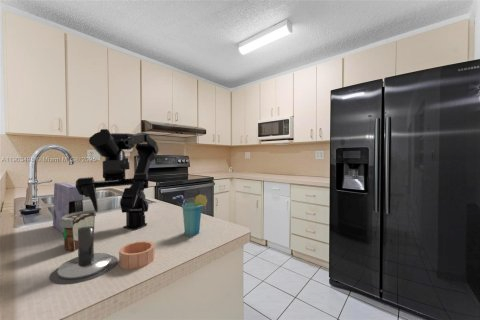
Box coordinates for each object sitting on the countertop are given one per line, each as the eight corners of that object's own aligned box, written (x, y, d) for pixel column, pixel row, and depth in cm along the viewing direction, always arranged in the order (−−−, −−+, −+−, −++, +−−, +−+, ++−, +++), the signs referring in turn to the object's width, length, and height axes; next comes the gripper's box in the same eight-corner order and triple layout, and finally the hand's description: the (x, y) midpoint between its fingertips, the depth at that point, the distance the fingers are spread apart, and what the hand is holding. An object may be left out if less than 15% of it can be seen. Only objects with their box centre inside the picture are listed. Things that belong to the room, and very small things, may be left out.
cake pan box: (84, 233, 79) (84, 185, 79) (68, 237, 75) (67, 187, 75) (67, 223, 90) (67, 181, 90) (52, 226, 86) (51, 182, 86)
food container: (77, 238, 74) (77, 210, 73) (96, 238, 74) (95, 209, 74) (48, 255, 61) (48, 221, 61) (71, 255, 62) (70, 220, 62)
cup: (178, 242, 71) (178, 197, 71) (167, 235, 77) (167, 194, 76) (211, 231, 81) (211, 192, 81) (199, 226, 87) (199, 189, 86)
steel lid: (46, 275, 50) (45, 233, 50) (91, 254, 61) (90, 220, 61) (80, 284, 47) (79, 239, 47) (121, 260, 58) (121, 223, 57)
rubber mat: (34, 279, 49) (34, 277, 49) (92, 253, 63) (92, 251, 63) (78, 291, 45) (78, 289, 45) (130, 260, 59) (130, 258, 59)
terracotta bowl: (112, 267, 55) (111, 252, 55) (136, 253, 63) (136, 239, 63) (138, 272, 53) (138, 256, 53) (160, 257, 61) (160, 243, 61)
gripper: (73, 150, 59) (66, 200, 51) (146, 148, 68) (150, 191, 60) (82, 172, 68) (78, 218, 60) (146, 167, 76) (150, 208, 68)
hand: (115, 208), depth 62 cm, fingers open, 9 cm apart
